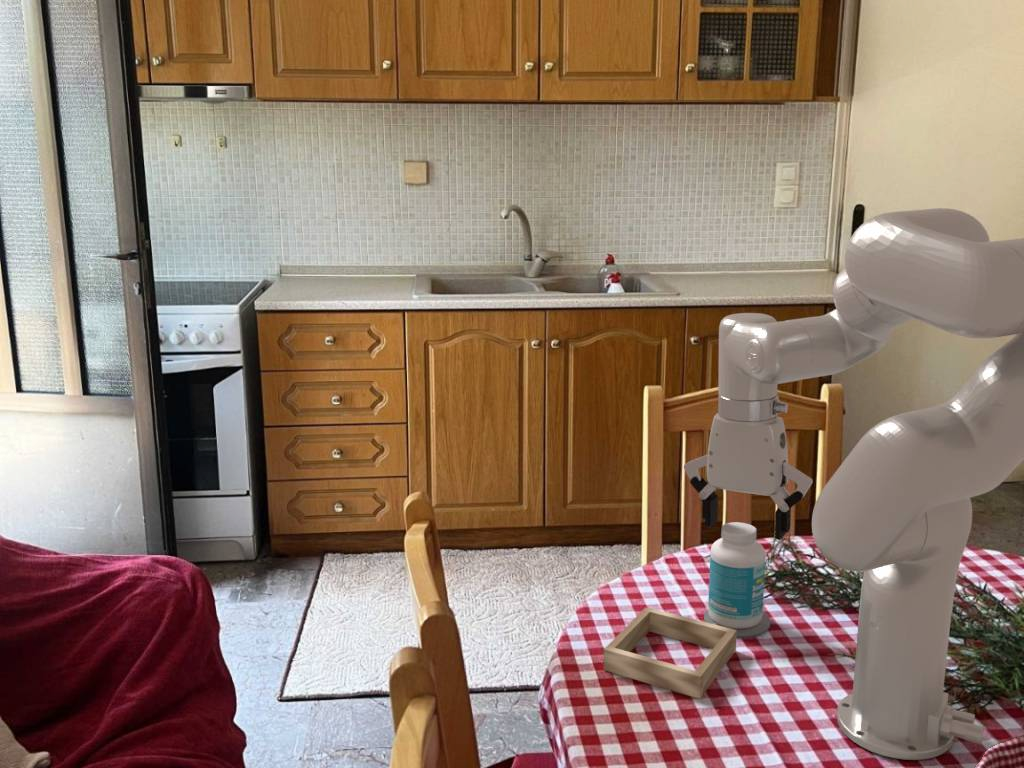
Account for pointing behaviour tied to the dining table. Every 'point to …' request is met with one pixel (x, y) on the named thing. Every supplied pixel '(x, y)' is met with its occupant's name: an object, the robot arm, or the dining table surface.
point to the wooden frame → (665, 673)
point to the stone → (747, 632)
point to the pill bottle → (736, 577)
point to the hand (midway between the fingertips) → (745, 530)
